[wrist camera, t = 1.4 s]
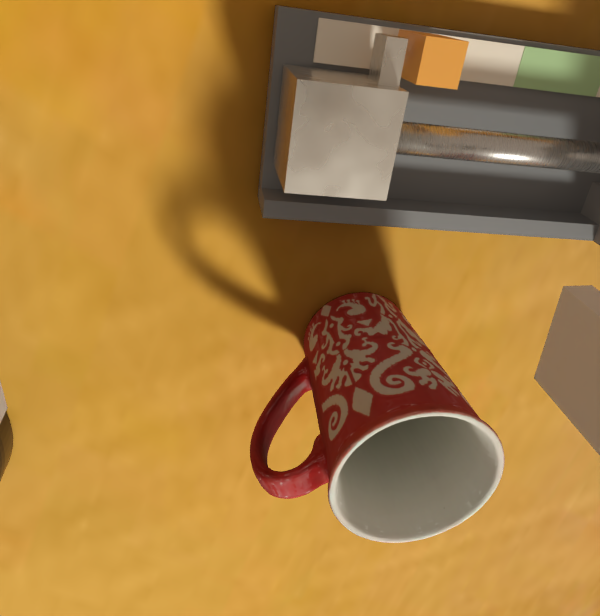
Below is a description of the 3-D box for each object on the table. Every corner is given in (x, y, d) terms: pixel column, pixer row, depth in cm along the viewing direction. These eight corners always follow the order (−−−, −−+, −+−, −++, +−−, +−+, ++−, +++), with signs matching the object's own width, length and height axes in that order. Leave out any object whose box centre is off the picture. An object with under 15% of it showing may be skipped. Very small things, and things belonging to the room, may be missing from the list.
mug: (414, 264, 37) (508, 393, 25) (422, 371, 42) (504, 521, 30) (226, 306, 36) (235, 456, 25) (255, 409, 41) (274, 577, 30)
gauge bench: (257, 196, 33) (276, 276, 24) (275, 4, 28) (307, 16, 19) (641, 225, 38) (776, 301, 29) (712, 66, 33) (902, 98, 24)
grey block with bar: (273, 163, 30) (284, 192, 26) (288, 19, 27) (303, 26, 23) (591, 190, 34) (646, 221, 30) (639, 67, 31) (709, 81, 26)
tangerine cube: (391, 72, 29) (415, 84, 25) (399, 28, 28) (426, 35, 24) (427, 76, 29) (457, 89, 26) (437, 34, 28) (468, 41, 25)
